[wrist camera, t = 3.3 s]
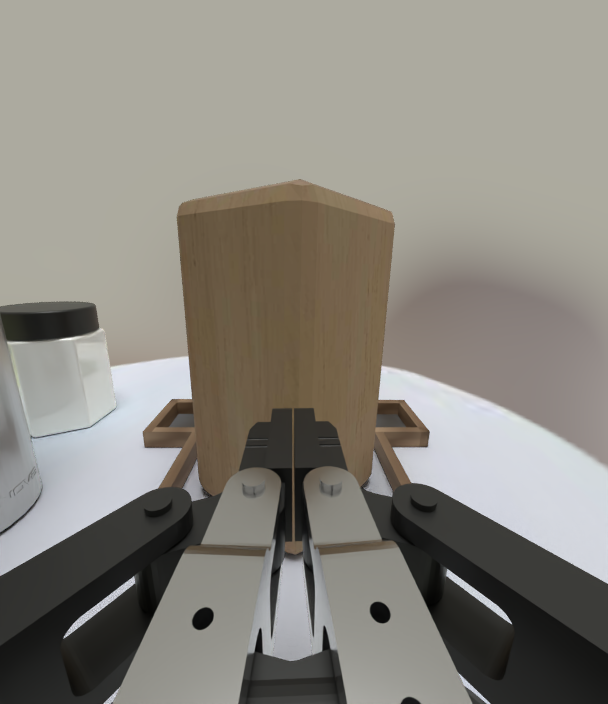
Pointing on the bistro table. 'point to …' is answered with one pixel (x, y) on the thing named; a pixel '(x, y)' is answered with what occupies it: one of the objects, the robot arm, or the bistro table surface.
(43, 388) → the jar
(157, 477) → the bistro table surface
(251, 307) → the block
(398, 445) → the notched outline frame
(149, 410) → the bistro table surface
